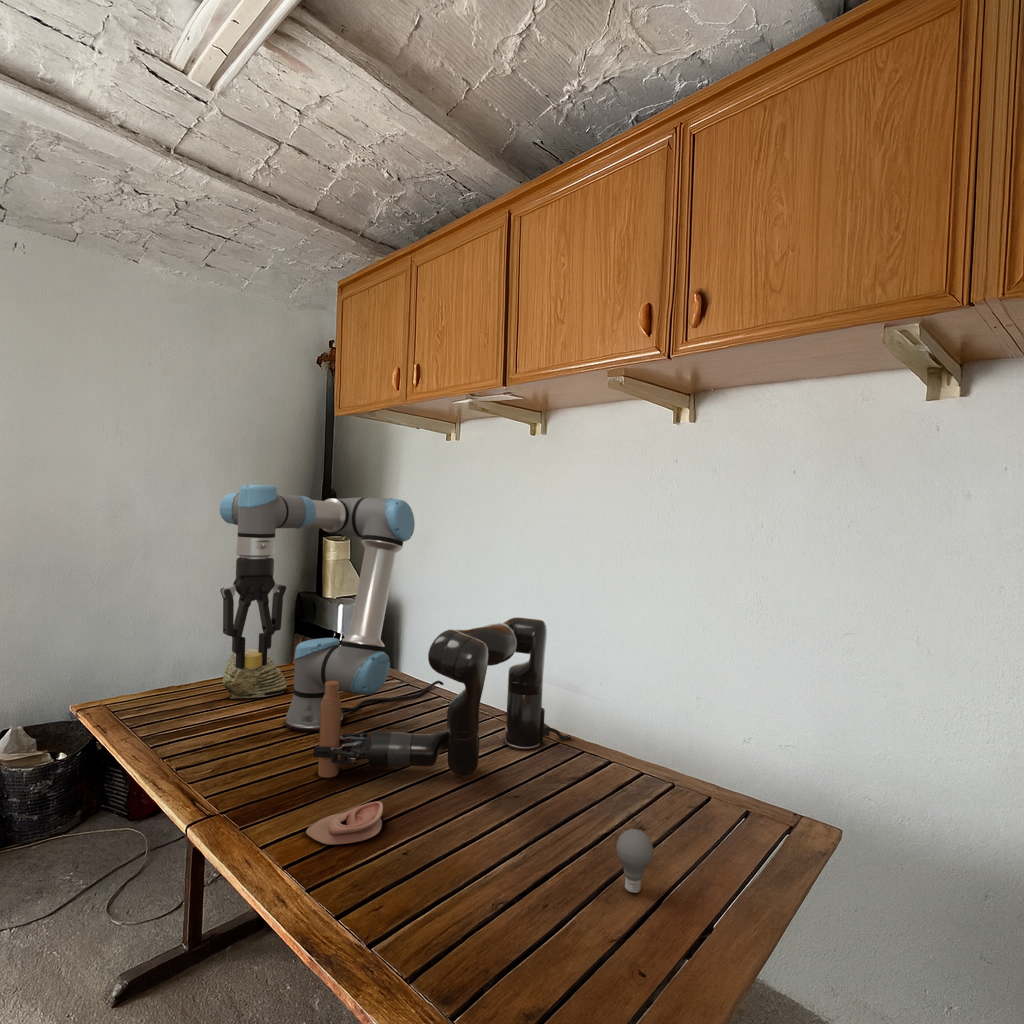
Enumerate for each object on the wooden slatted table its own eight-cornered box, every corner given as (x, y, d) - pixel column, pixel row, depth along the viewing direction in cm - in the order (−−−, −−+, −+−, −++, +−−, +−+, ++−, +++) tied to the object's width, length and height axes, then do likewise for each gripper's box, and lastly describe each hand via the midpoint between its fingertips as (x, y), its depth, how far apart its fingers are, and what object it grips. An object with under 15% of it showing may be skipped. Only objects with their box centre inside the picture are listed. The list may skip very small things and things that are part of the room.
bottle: (343, 772, 146) (346, 682, 145) (327, 779, 142) (330, 686, 142) (329, 767, 148) (333, 678, 148) (313, 774, 144) (317, 682, 144)
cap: (263, 662, 138) (263, 652, 138) (260, 667, 134) (260, 656, 134) (242, 663, 137) (243, 652, 137) (238, 668, 133) (239, 657, 133)
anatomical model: (298, 818, 116) (328, 791, 128) (297, 839, 116) (327, 810, 128) (365, 829, 114) (390, 800, 125) (364, 851, 114) (389, 820, 125)
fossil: (218, 695, 195) (220, 647, 195) (278, 685, 208) (279, 640, 207) (228, 703, 189) (230, 653, 188) (289, 692, 201) (290, 645, 201)
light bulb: (610, 879, 108) (613, 822, 108) (644, 879, 109) (647, 822, 109) (619, 902, 102) (622, 840, 102) (655, 901, 103) (658, 840, 103)
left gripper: (221, 559, 126) (216, 676, 127) (301, 557, 139) (297, 663, 139) (206, 556, 132) (202, 668, 132) (285, 554, 144) (281, 656, 144)
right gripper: (397, 722, 153) (325, 719, 152) (387, 745, 138) (308, 742, 138) (396, 753, 153) (324, 750, 152) (386, 779, 138) (307, 777, 138)
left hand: (251, 665), depth 135 cm, fingers closed on cap, 4 cm apart
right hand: (317, 747), depth 145 cm, fingers closed on bottle, 4 cm apart
